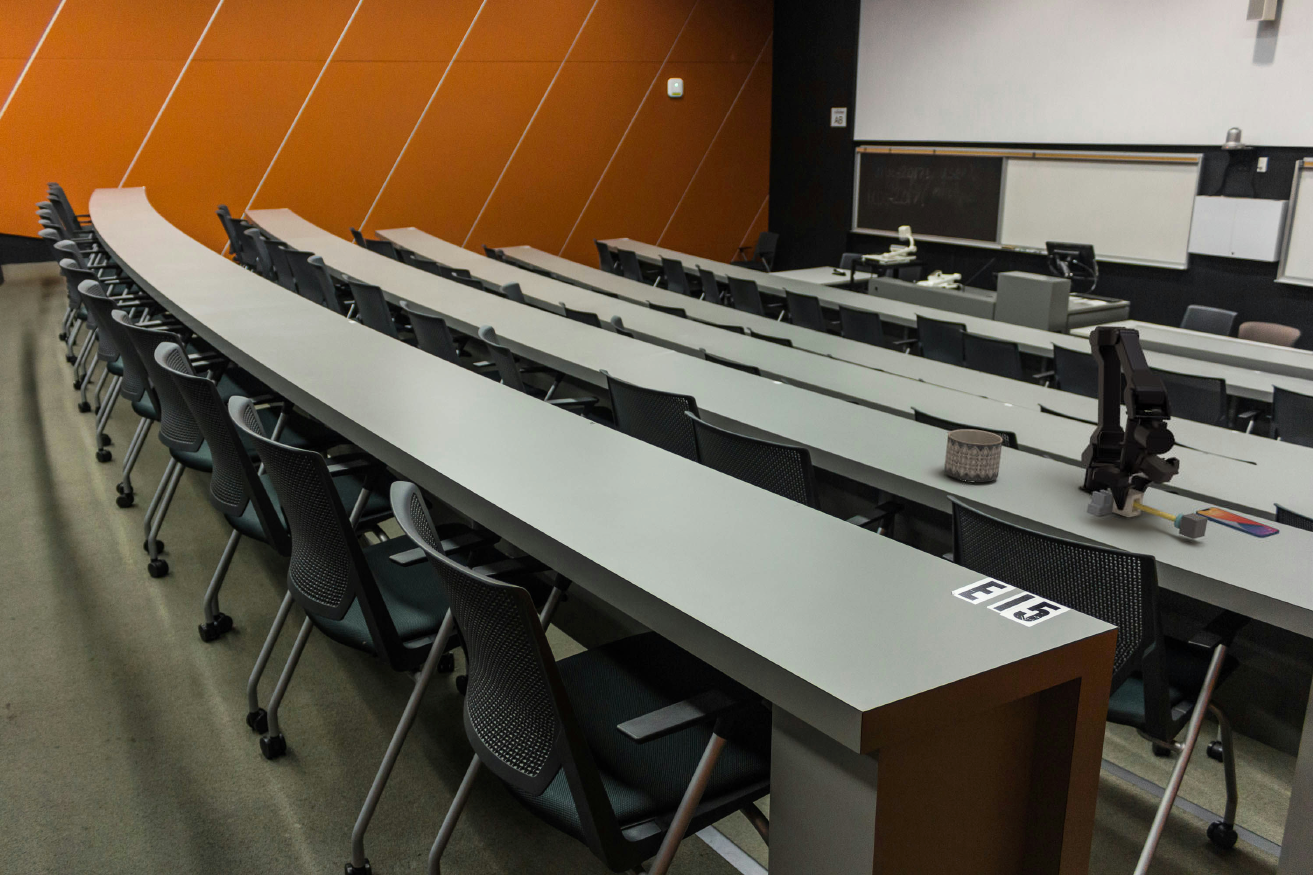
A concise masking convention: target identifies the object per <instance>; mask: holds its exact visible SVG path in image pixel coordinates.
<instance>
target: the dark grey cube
mask: <svg viewBox="0 0 1313 875" xmlns="http://www.w3.org/2000/svg"><path fill="white" fill-rule="evenodd" d="M1208 521H1209V520H1208V518H1206V517H1204V516H1201V515H1198V514H1196V512H1195V513H1194V512H1191V513H1188V514H1184V515H1183V516H1182V519H1181V521H1180V529H1178V534H1179V535H1181V536H1184V537H1186V538H1189V539H1192V540H1194V539H1199V538H1203V537H1205V535H1206V530H1207V526H1208V524H1207V523H1208Z"/></svg>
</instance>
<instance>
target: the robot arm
mask: <svg viewBox="0 0 1313 875" xmlns="http://www.w3.org/2000/svg"><path fill="white" fill-rule="evenodd" d="M1088 342H1089V346H1090V353H1091V355H1092V357H1093V358H1094V360H1095V362H1096V363H1097V366H1098V380H1097V381H1098V385H1097V386H1098V387H1097V388H1098V389H1097V426H1096V427H1095V429H1094V431H1093V432H1092V433H1091V434H1090V437H1089V443H1088V445H1086V447H1085V448H1084V449H1083V451H1082V453H1081V454H1080V455H1081V457H1080V463H1081V464H1082V465H1083V466H1084V467H1085V473H1084V479H1083V480H1084V481H1083V485H1080V486H1078V489H1079V490H1082V491H1083V492H1087V493H1089V494H1092V495H1093V492H1094V491H1096V492H1099V493H1100V490H1105V491H1107V489H1108V488H1110V490H1111V492H1112V495H1113V498H1114V500H1115V503H1116V506H1117V509H1118V510H1120V511H1122V510H1123V509H1124V506H1125V503H1126V499H1127V495H1128V492H1129V489H1134V490H1137V491H1140V492H1143V493H1144V494H1145V492H1146V491H1147V489H1148V488H1149V486H1151V485H1152V484H1157V485H1161V484H1162V485H1163V484H1165V483H1170V482H1171V480H1172V479H1173V477H1174V476H1177V475H1179V473H1180V472H1179V470H1180V461H1181V460H1180V459H1179V458H1177V457H1176V456H1171V457H1168V458H1165V457H1160V456H1161V455H1164V454H1166V453H1168V452H1170V451H1171V450H1172V449H1173V448H1174V445H1175V443H1176V438H1175V435H1174V433H1173V432H1172V431H1171V429H1169V428H1168V422H1167V421H1171V420H1172V417H1171V414H1172V413H1173V411H1172V409H1173V408H1172V407H1171V406H1172V405H1171V402H1170V397H1169V393H1168V391H1167V389H1166V387H1165V385H1164V383H1163V382H1162V380H1161V379H1160V377H1158V376H1156V375H1155V374H1153V373H1152V372H1151V370H1150V366H1149V364H1148V361H1147V357H1146V356H1145V353H1144V350H1143V347H1142V345H1141V342H1140V331H1139V330H1138V329H1135V328H1127V327H1126V326H1113V325H1112V326H1107V325H1097V326H1096V327H1095V328H1094V330H1090V333H1089V336H1088ZM1122 371H1123V374H1124V376H1125V380H1126V384H1127V385H1126V387H1125V388H1124V391H1123V400H1124V404H1125V408H1126V411H1125V415H1126V416H1127V418H1126V422H1125V428H1124V429H1123V428H1122V426H1121V404H1122V403H1121V401H1122V400H1121V397H1122V396H1121V394H1122V392H1121V391H1122V390H1121V389H1122V388H1121V387H1122V381H1121V380H1122V375H1121V374H1122Z"/></svg>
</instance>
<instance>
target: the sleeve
mask: <svg viewBox="0 0 1313 875" xmlns="http://www.w3.org/2000/svg"><path fill="white" fill-rule="evenodd" d="M1144 495H1145V493H1143V492H1140V491H1137V490H1134V489H1129V492H1128V495H1127V499H1126V503H1125V506H1124V509H1123V510H1122V511H1120V510H1118V509H1117V506H1116V503H1115V500H1114V503H1113V509H1112V511H1113V512H1114V513H1115V514H1119V515H1121V516H1123V517H1126V518H1132V517H1136V516H1140V515H1141V513H1142V510H1140V509H1137V508H1134V507H1133V502H1137V503H1140V504H1142V505H1143V501H1144Z"/></svg>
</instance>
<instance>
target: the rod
mask: <svg viewBox="0 0 1313 875" xmlns="http://www.w3.org/2000/svg"><path fill="white" fill-rule="evenodd" d="M1113 500H1114V499H1113ZM1133 507H1134V508H1137V509H1140V510H1141V511H1143V512H1145V513H1148V514H1152V515H1154V516H1157V517H1160V518H1162V519H1164V520H1168V521H1170V522H1173V523H1174V521H1175V519H1176V517H1177V515H1176V516H1175V515H1172V514H1170V513H1168V512H1164V511H1162V510H1159V509H1156V508H1153V507H1150V506H1148V505H1144V504H1143V503H1142V504H1140V503H1137V502H1133Z"/></svg>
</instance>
